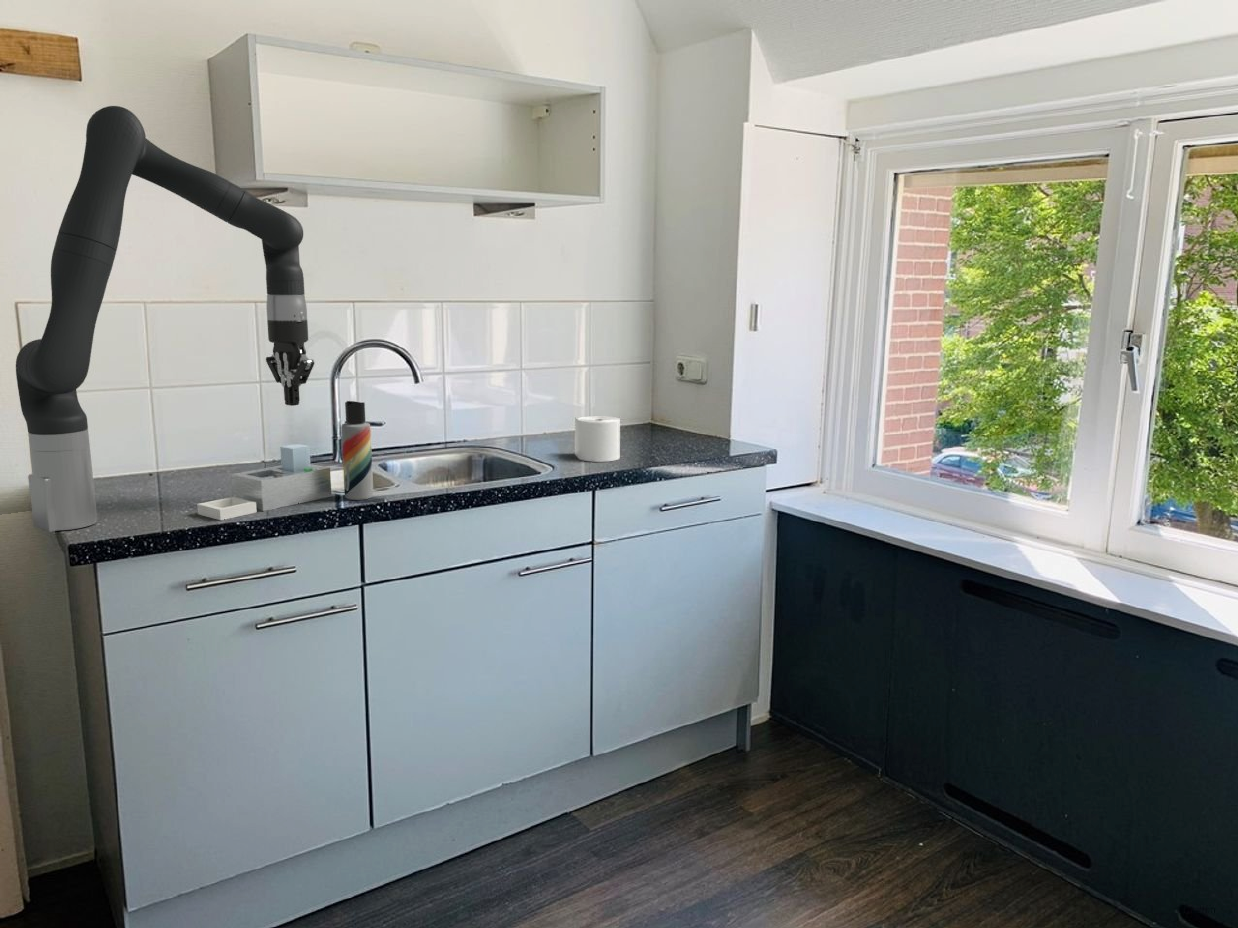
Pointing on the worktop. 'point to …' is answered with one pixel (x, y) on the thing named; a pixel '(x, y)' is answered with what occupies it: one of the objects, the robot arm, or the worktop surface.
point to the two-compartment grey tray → (281, 486)
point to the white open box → (226, 508)
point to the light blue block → (295, 457)
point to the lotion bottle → (357, 453)
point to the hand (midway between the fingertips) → (292, 404)
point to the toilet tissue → (597, 438)
